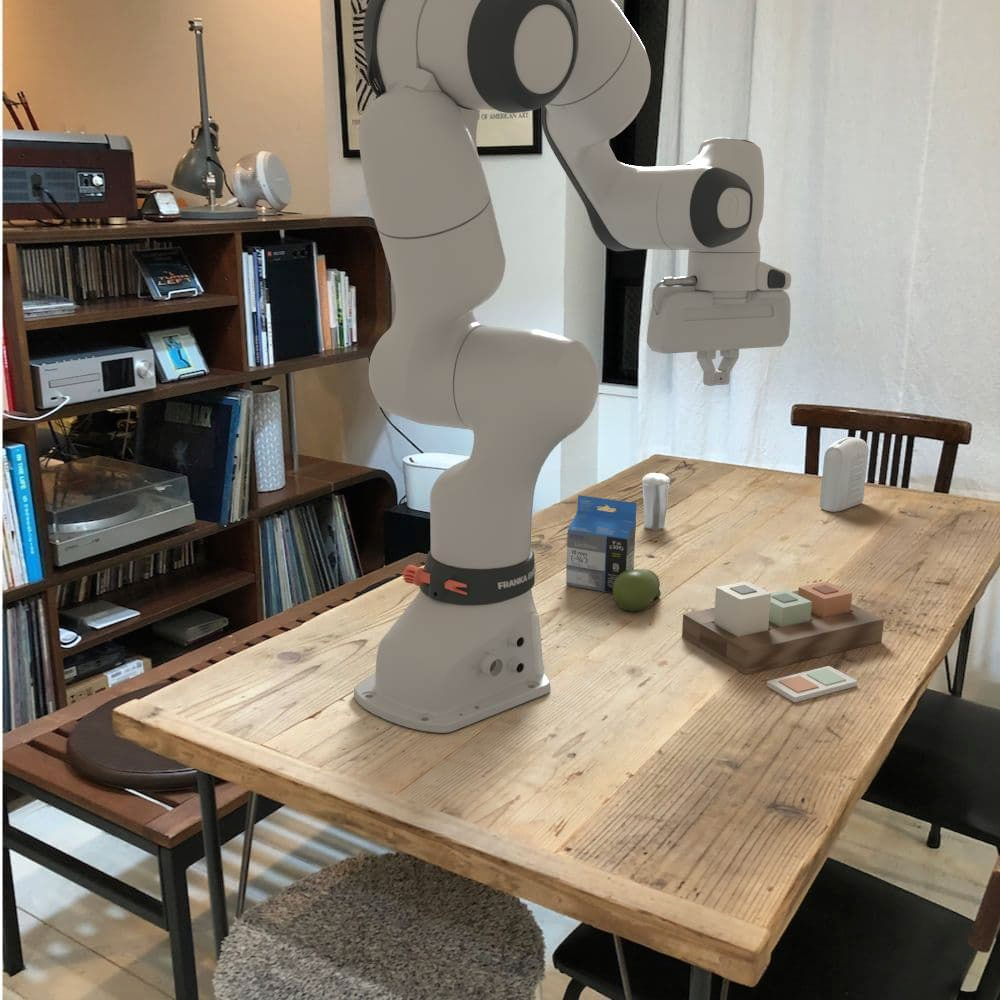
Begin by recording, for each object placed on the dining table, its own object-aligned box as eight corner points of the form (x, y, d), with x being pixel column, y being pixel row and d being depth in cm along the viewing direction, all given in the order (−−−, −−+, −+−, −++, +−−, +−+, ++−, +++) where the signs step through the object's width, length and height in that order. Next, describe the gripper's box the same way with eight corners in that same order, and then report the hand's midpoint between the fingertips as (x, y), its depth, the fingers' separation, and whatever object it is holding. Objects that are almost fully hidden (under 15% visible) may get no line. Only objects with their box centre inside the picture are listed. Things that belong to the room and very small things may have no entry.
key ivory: (737, 637, 120) (740, 598, 118) (713, 623, 123) (716, 586, 122) (768, 630, 122) (771, 592, 120) (743, 617, 125) (746, 580, 124)
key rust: (821, 634, 126) (824, 597, 124) (795, 621, 130) (798, 586, 128) (848, 628, 128) (852, 592, 126) (822, 615, 132) (826, 580, 130)
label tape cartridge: (564, 586, 143) (566, 501, 140) (574, 577, 147) (576, 494, 143) (625, 596, 140) (628, 509, 136) (634, 587, 143) (637, 502, 140)
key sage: (779, 644, 123) (783, 606, 122) (755, 630, 127) (757, 594, 126) (808, 637, 125) (812, 600, 124) (783, 624, 129) (786, 588, 127)
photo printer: (844, 498, 187) (850, 431, 184) (866, 503, 184) (873, 435, 181) (815, 509, 180) (821, 440, 177) (838, 514, 177) (845, 444, 174)
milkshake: (664, 534, 166) (667, 474, 164) (635, 528, 169) (637, 469, 167) (677, 527, 170) (680, 468, 167) (648, 521, 173) (651, 464, 170)
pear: (608, 570, 133) (631, 560, 142) (605, 610, 134) (628, 597, 143) (649, 576, 131) (670, 566, 140) (646, 617, 132) (667, 604, 141)
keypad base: (745, 674, 116) (747, 650, 116) (681, 636, 127) (683, 613, 126) (881, 641, 125) (884, 618, 125) (812, 608, 136) (814, 587, 135)
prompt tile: (794, 702, 110) (794, 696, 110) (766, 686, 114) (767, 680, 113) (856, 685, 114) (857, 679, 114) (828, 670, 118) (828, 664, 117)
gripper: (669, 278, 122) (663, 394, 126) (801, 275, 131) (793, 383, 135) (639, 275, 128) (635, 386, 131) (768, 272, 136) (761, 376, 140)
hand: (716, 384), depth 133 cm, fingers closed
